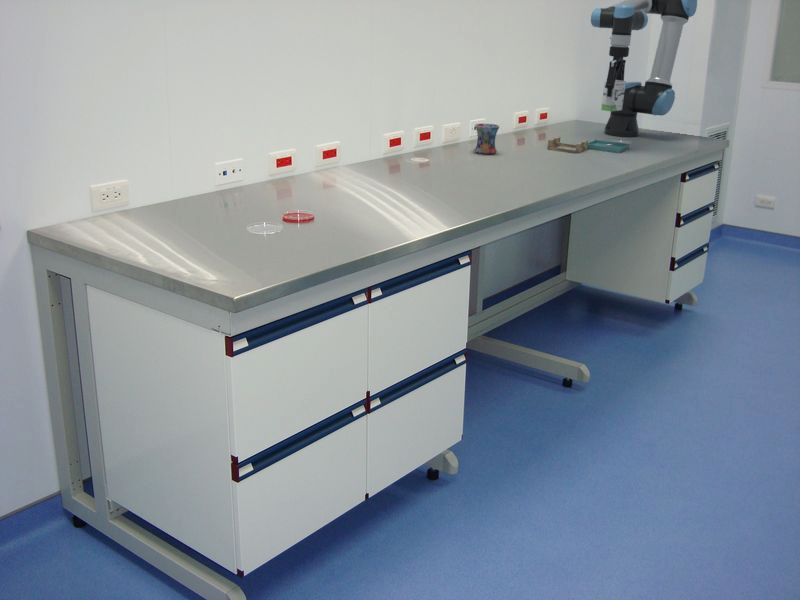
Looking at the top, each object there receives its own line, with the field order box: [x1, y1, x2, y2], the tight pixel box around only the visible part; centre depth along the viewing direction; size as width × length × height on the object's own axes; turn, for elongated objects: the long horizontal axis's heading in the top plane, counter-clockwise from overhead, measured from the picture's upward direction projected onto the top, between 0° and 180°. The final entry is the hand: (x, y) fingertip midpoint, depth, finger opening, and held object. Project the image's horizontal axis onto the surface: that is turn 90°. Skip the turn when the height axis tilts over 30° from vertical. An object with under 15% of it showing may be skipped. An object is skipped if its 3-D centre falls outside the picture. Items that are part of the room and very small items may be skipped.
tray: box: [586, 139, 631, 154], centre depth 348 cm, size 14×15×2 cm
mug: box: [474, 123, 500, 155], centre depth 326 cm, size 12×9×11 cm
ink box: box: [601, 79, 626, 112], centre depth 340 cm, size 9×5×12 cm, turn 135°
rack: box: [547, 136, 589, 154], centre depth 341 cm, size 13×13×4 cm
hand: (612, 103), depth 341 cm, fingers closed on ink box, 9 cm apart
